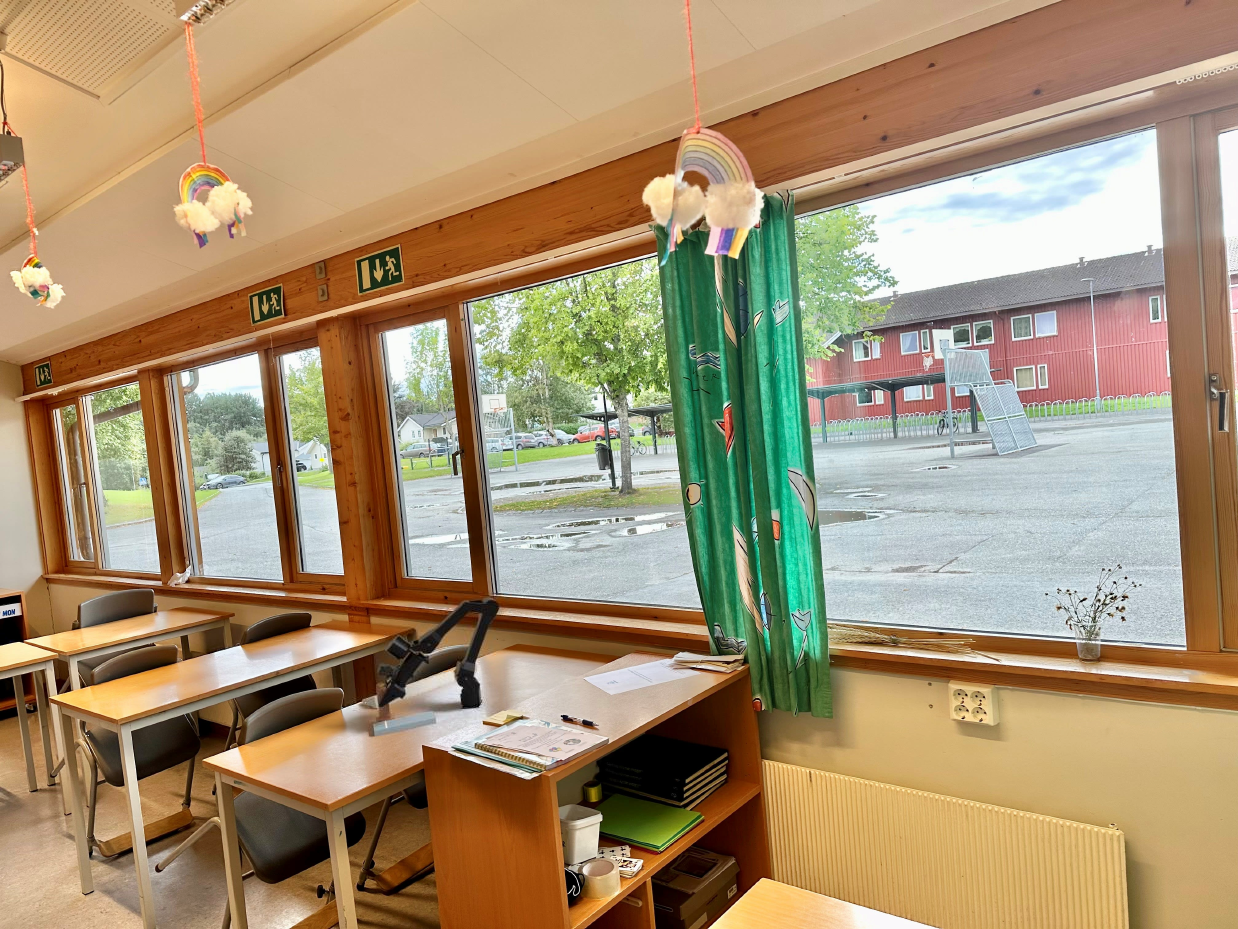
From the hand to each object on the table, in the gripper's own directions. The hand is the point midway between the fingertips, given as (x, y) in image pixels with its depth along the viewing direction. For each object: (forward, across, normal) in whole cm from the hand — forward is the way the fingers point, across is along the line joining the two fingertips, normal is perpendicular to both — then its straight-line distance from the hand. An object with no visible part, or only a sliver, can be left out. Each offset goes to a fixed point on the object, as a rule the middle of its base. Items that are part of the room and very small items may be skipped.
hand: (379, 705), depth 264 cm
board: (0, +7, +10) cm, 12 cm away
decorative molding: (-3, -31, +14) cm, 34 cm away
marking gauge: (+4, 0, +6) cm, 7 cm away
